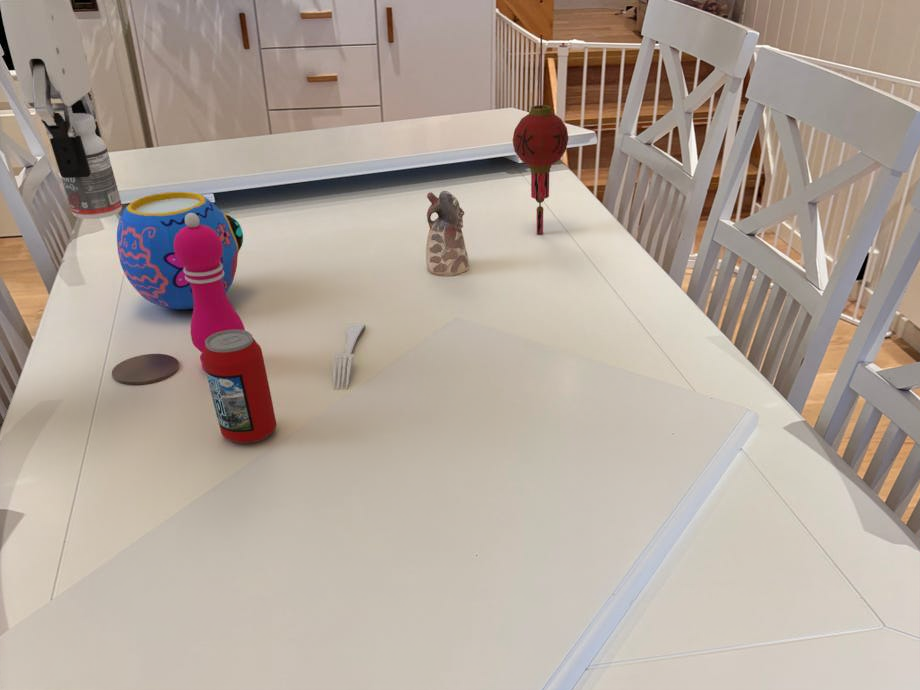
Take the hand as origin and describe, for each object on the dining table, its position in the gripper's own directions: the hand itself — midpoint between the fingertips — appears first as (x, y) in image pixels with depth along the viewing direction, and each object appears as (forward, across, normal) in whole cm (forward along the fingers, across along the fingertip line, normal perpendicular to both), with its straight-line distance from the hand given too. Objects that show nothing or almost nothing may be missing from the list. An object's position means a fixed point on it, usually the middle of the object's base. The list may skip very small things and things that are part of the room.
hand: (84, 167), depth 104 cm
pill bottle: (+5, 0, 0) cm, 5 cm away
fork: (+27, -8, +26) cm, 39 cm away
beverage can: (+27, +14, +16) cm, 34 cm away
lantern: (+27, -55, +57) cm, 84 cm away
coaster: (+27, -6, -2) cm, 28 cm away
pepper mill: (+27, -6, +9) cm, 30 cm away
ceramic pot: (+27, -30, 0) cm, 41 cm away
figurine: (+27, -40, +41) cm, 63 cm away
